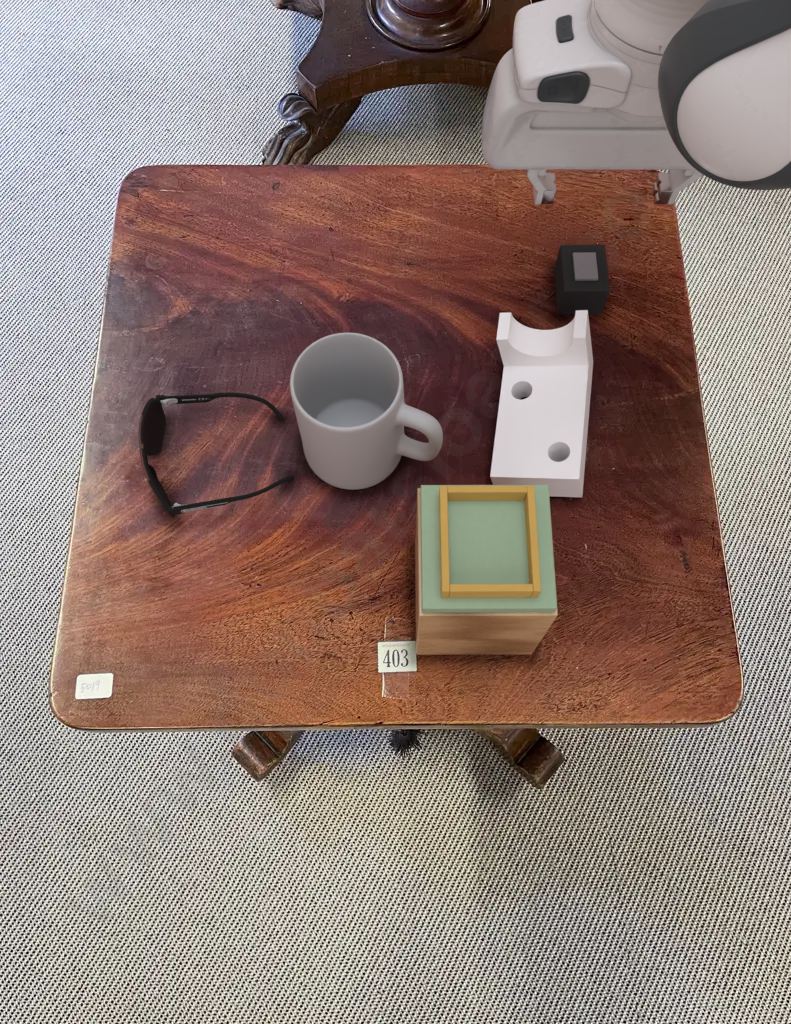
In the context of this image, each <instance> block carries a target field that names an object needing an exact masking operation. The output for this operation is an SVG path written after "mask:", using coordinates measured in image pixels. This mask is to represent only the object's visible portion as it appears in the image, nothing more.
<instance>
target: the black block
mask: <svg viewBox="0 0 791 1024" xmlns="http://www.w3.org/2000/svg"><path fill="white" fill-rule="evenodd" d="M607 259H608V258H607V251H606V245H605V244H560V245H559V249H558V252H557V257H556V260H555V264H554V267H553V275H554V285H555V286H554V287H555V297H556V298H555V299H556V308H557V315H575V312H576V310H588V315H602V313H603V311H604V308H605V306H606V303H607V300H608V298H609V295H610V293H611V287H610V279H609V277H610V276H609V268H608V260H607Z"/></svg>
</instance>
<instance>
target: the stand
mask: <svg viewBox="0 0 791 1024" xmlns="http://www.w3.org/2000/svg"><path fill="white" fill-rule="evenodd" d="M416 494H417V495H416V513H415V516H416V517H415V535H414V536H415V538H414V568H415V569H414V570H415V571H414V574H415V575H414V577H415V578H414V583H415V584H414V585H415V586H414V587H415V588H414V589H415V590H414V591H415V655H416V656H418V655H419V656H423V655H424V656H427V655H428V656H430V655H431V656H433V655H436V656H437V655H438V656H439V655H441V656H443V655H444V656H445V655H455V656H456V655H457V656H458V655H459V656H460V655H461V656H462V655H463V656H464V655H465V656H467V655H468V656H469V655H470V656H472V655H477V656H478V655H479V656H480V655H483V656H484V655H486V656H487V655H489V656H490V655H495V656H497V655H533V654H534V652H535V650H536V649H537V647H538V646H539V644H540V643H541V641H542V640H543V639H544V637H545V635H546V634H547V633H548V631H549V630H550V627H552V625H553V624H554V622H555V620H556V619H557V617H558V616H559V611H558V610H559V609H558V608H557V609H556V611H555V612H422V570H421V487H418V488H417V492H416ZM550 497H551V496H549V500H550V501H551V498H550ZM550 514H551V515H552V513H551V510H550ZM552 526H553V525H552V524H551V528H552V529H553V527H552ZM552 542H553V543H554V541H553V538H552ZM553 556H554V557H555V554H554V552H553ZM555 567H556V566H554V570H555V569H556V568H555ZM555 571H556V570H555ZM556 582H557V581H556V580H555V584H556ZM556 598H557V599H558V595H557V594H556Z"/></svg>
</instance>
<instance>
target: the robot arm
mask: <svg viewBox="0 0 791 1024" xmlns="http://www.w3.org/2000/svg"><path fill="white" fill-rule="evenodd" d="M481 152H482V153H481V154H482V158H483V160H484V161H485V163H486V164H487V165H488V166H489V167H490V168H491V169H493V170H497V171H506V170H507V171H508V170H510V171H511V170H512V171H513V170H515V171H516V170H517V171H518V170H519V171H520V170H521V171H522V170H523V171H525V170H526V177H527V178H528V180H529V182H530V183H531V185H532V196H533V197H532V198H533V204H534V205H554V203H555V197H556V195H557V183H556V180H557V179H556V172H548V170H551V171H555V170H558V171H560V170H561V171H563V170H565V171H568V170H570V171H571V170H572V171H574V170H575V171H581V170H582V171H586V170H587V171H593V170H595V171H602V170H603V171H605V170H606V171H608V170H609V171H612V170H613V171H629V170H630V171H668V172H658V173H657V175H656V177H655V182H653V185H652V189H651V190H652V192H651V193H652V197H653V205H669V206H670V205H671V206H673V205H674V204H675V203H676V201H677V198H678V196H679V194H680V192H682V191H683V190H685V189H686V188H688V187H689V186H691V185H692V184H693V183H695V182H696V181H697V180H699V179H700V178H702V177H703V176H705V177H706V178H708V179H709V180H712V181H714V182H717V183H719V184H722V185H724V186H728V187H732V188H736V189H741V190H747V191H748V190H751V191H777V190H787V189H791V0H541V1H536V2H533V3H530V4H527V5H525V6H523V7H522V8H520V9H518V11H517V12H516V14H515V17H514V22H513V29H512V48H510V49H509V50H508V51H507V52H506V53H505V54H503V56H502V57H501V59H500V60H499V62H498V64H497V65H496V68H495V70H494V73H493V75H492V78H491V82H490V85H489V89H488V92H487V96H486V100H485V104H484V108H483V115H482V120H481Z"/></svg>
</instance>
